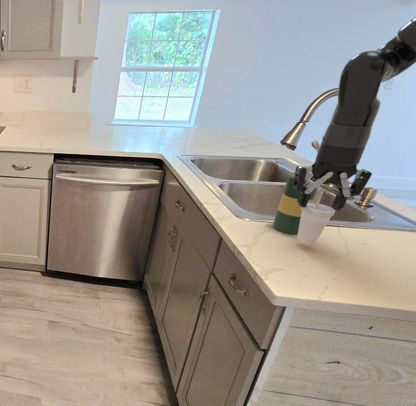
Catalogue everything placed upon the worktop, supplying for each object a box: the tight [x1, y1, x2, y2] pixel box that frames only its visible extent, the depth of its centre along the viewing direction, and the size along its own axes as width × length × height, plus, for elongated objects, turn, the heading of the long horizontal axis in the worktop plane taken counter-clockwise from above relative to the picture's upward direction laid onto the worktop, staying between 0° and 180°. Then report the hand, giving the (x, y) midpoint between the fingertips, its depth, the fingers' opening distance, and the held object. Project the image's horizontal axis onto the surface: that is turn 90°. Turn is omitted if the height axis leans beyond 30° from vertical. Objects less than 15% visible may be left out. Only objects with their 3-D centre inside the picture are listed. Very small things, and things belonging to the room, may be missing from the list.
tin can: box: [272, 171, 319, 235], centre depth 102 cm, size 7×7×16 cm
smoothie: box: [296, 189, 336, 245], centre depth 93 cm, size 6×6×14 cm
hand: (318, 207), depth 92 cm, fingers closed on smoothie, 6 cm apart
